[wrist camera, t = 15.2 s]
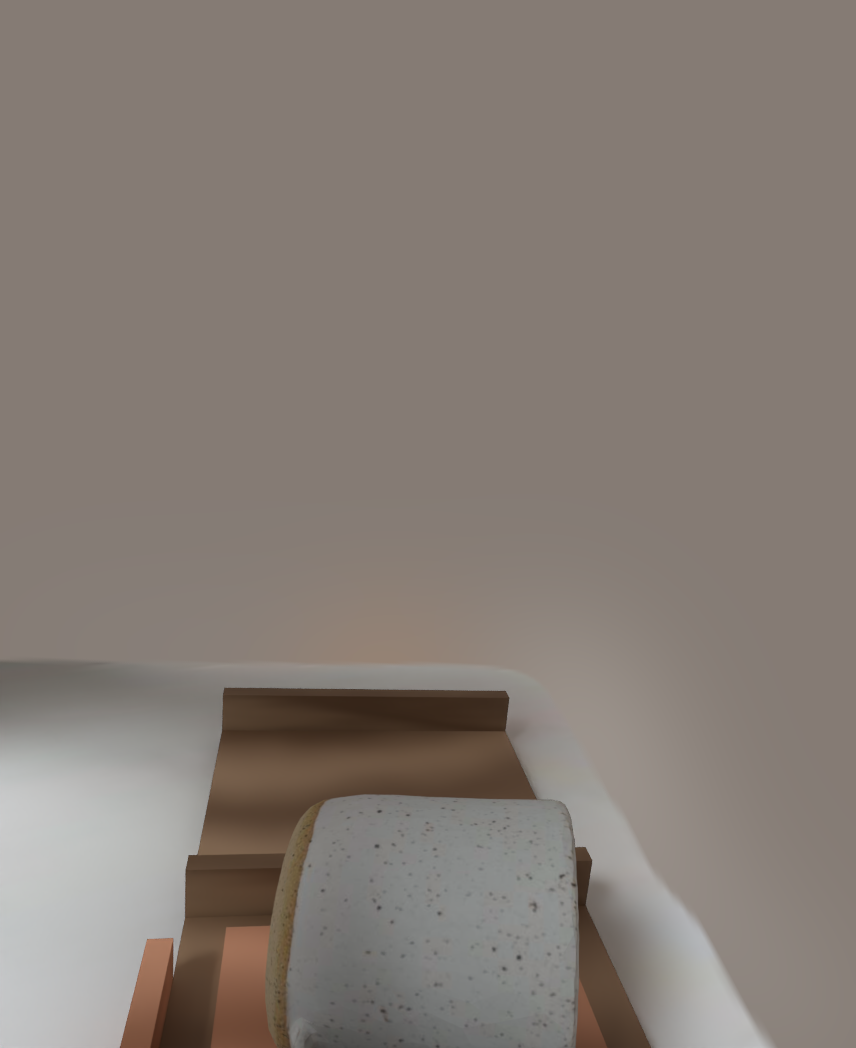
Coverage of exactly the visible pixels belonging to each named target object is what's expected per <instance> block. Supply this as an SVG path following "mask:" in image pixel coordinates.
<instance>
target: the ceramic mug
mask: <svg viewBox="0 0 856 1048" xmlns="http://www.w3.org/2000/svg"><path fill="white" fill-rule="evenodd" d="M578 923H579V913H578V886H577V871H576V854H575V839H574V836H573V828H572V821H571V817H570V814H569V811H568V810H567V808H566V806H565V804H563V803H562V802H560V801H555V800H525V799H475V798H449V797H421V796H406V795H367V794H364V795H355V796H347V797H339V798H333V799H326V800H323V801H321V802H319V803H317V804H315V805H313V806H311V807H310V808H309V809H308V810H307V811H306V812H305V814H304V815H303V816H302V817H301V818H300V820H299V822H298V823H297V825H296V827H295V829H294V832H293V834H292V837H291V839H290V842H289V845H288V848H287V851H286V854H285V857H284V860H283V865H282V869H281V873H280V878H279V882H278V887H277V891H276V896H275V901H274V907H273V912H272V918H271V925H270V934H269V943H268V953H267V963H266V974H265V1003H266V1011H267V1020H268V1028H269V1031H270V1033H271V1036H272V1038H273V1040H274V1043H275V1044H276V1046H277V1048H575V1046H576V1033H577V1019H578V993H579V926H578Z"/></svg>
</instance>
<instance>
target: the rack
mask: <svg viewBox="0 0 856 1048" xmlns="http://www.w3.org/2000/svg"><path fill="white" fill-rule="evenodd" d="M508 704H509V697H508V695H507V693H506V691H454V690H368V689H282V688H224V693H223V721H222V734H221V739H220V745H219V750H218V755H217V760H216V765H215V770H214V775H213V780H212V785H211V790H210V795H209V800H208V805H207V810H206V815H205V820H204V825H203V830H202V835H201V840H200V845H199V851H198V855H189V857H188V861H187V866H186V882H185V921H184V926H183V931H182V936H181V941H180V946H179V951H178V957H177V962H176V967H175V972H174V977H173V938H166V939H147V942H146V946H145V950H144V954H143V958H142V962H141V966H140V970H139V974H138V978H137V982H136V986H135V990H134V994H133V998H132V1002H131V1006H130V1010H129V1014H128V1018H127V1022H126V1026H125V1030H124V1034H123V1038H122V1042H121V1046H120V1048H277V1046H276V1044H275V1043H274V1040H273V1038H272V1036H271V1033H270V1031H269V1028H268V1020H267V1011H266V1003H265V974H266V963H267V953H268V943H269V934H270V925H271V918H272V912H273V907H274V901H275V896H276V891H277V887H278V882H279V878H280V873H281V869H282V865H283V860H284V857H285V854H286V851H287V848H288V845H289V842H290V839H291V837H292V834H293V832H294V829H295V827H296V825H297V823H298V822H299V820H300V818H301V817H302V816H303V815H304V814H305V812H306V811H307V810H308V809H309V808H310V807H311V806H313V805H315V804H317V803H319V802H321V801H323V800H326V799H333V798H339V797H347V796H355V795H364V794H367V795H406V796H421V797H449V798H475V799H525V800H537V799H536V797H535V795H534V793H533V791H532V788H531V786H530V784H529V782H528V780H527V778H526V775H525V773H524V771H523V769H522V767H521V765H520V762H519V760H518V758H517V756H516V754H515V752H514V749H513V747H512V745H511V743H510V741H509V738H508V736H507V734H506V732H505V729H506V721H507V712H508ZM575 854H576V871H577V886H578V913H579V923H578V926H579V993H578V1019H577V1033H576V1046H575V1048H651V1046H650V1044H649V1042H648V1040H647V1038H646V1036H645V1033H644V1031H643V1029H642V1027H641V1025H640V1023H639V1020H638V1018H637V1016H636V1014H635V1012H634V1010H633V1007H632V1005H631V1003H630V1001H629V999H628V997H627V994H626V992H625V990H624V988H623V986H622V984H621V981H620V979H619V977H618V975H617V973H616V971H615V968H614V966H613V964H612V962H611V960H610V958H609V955H608V953H607V951H606V949H605V947H604V945H603V942H602V940H601V938H600V936H599V934H598V932H597V929H596V927H595V925H594V923H593V921H592V919H591V916H590V914H589V912H588V910H587V908H586V905H585V904H586V897H587V891H588V885H589V878H590V872H591V866H592V859H591V857H590V855H589V853H588V851H587V849H586V847H575Z"/></svg>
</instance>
